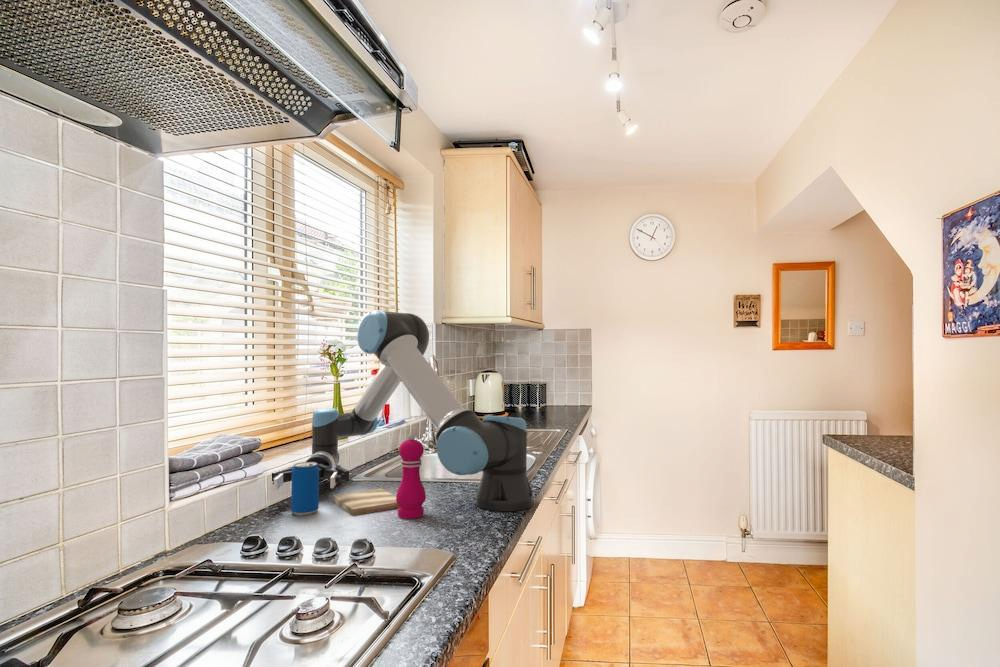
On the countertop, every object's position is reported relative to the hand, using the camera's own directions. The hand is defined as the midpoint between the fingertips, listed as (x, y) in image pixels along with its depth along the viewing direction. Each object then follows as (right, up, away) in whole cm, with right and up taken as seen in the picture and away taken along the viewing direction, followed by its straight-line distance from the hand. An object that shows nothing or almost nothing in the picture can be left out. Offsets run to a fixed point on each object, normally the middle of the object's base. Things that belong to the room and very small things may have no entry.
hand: (303, 483), depth 139 cm
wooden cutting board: (+14, -7, +8) cm, 18 cm away
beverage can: (0, -7, 0) cm, 7 cm away
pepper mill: (+27, -7, -3) cm, 28 cm away
